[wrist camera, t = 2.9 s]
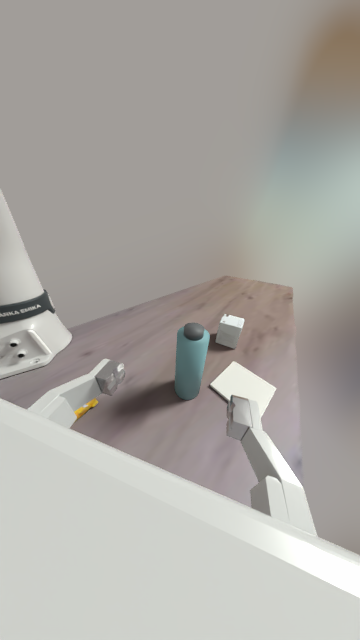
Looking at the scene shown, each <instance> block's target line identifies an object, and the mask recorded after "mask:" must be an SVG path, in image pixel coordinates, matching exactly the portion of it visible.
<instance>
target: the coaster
mask: <svg viewBox="0 0 360 640" xmlns="http://www.w3.org/2000/svg"><path fill="white" fill-rule="evenodd" d="M210 387H212V388H213V389H214V390H215V391H216V392H217V393H219V394H220V395H221V396H222V397H223V398H225V399H226V400H227V401H228V402H229V401H230V397H231V395H236V396H239V397H243V398H247V399H250V400H253V401H256V402H257V403H258V407H259V413H260V418H261V417H262V415H263V413H264V411H265V409H266V407H267V405H268V404H269V402H270V400H271V398H272V396H273V394H274V392H275V390H276V388H275V387H274V386H272V385H271V384H269V383H267V382H266V381H264V380H263V379H261V378H260V377H258V376H256V375H255V374H253V373H252V372H250V371H249V370H247V369H245V368H244V367H242V366H241V365H239V364H238V363H236V362H234V361H233V362H232V363H231V364H230V365H229V366H228V367H227V368H226V369H225V370H224V371H223V372H222V373H221V374H220V375H219V376H218V377H217V378H216V379H215V380H214V381H213V382H212V383H211V384H210Z"/></svg>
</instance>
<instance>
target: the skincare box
mask: <svg viewBox="0 0 360 640" xmlns="http://www.w3.org/2000/svg"><path fill="white" fill-rule="evenodd" d="M244 320H245V319H243V318H239V317H235V316H231V315H227V314H225V315H224V316H223V317H222V319H221V321H220V323H219V328H218V332H217V337H216V341H215V342H216V343H219V344H222V345H225V346H227V347H230V348H233V349H235V348H236V345H237V342H238V339H239V336H240V333H241V330H242V327H243V324H244Z"/></svg>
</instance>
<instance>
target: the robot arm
mask: <svg viewBox="0 0 360 640" xmlns="http://www.w3.org/2000/svg"><path fill="white" fill-rule="evenodd" d="M71 339H72V335H71V333H70V332H69V331H68V330H67V329H66V328H65V327H64V325H63V324H62V323H61V321H60V320H59V318H58V317H57V315H56V313H55V308H54V305H53V303H52V301H51V299H50V296H49V295H48V293H47V292H46V290H44V289H43V288H42V285H41V283H40V281H39V279H38V277H37V275H36V272H35V270H34V268H33V266H32V263H31V261H30V259H29V257H28V254H27V252H26V249H25V247H24V244H23V242H22V239H21V237H20V234H19V232H18V230H17V227H16V225H15V222H14V220H13V217H12V215H11V213H10V210H9V208H8V205H7V203H6V201H5V198H4V196H3V194H2V191H1V189H0V379H2V378H5V377H8V376H12V375H15V374H18V373H22V372H25V371H28V370H32V369H35V368H38V367H42V366H45V365H46V364H48V363H49V362H50V361H51V360H52V359H53V357H54V356H55V355H56V354H57V353H59V352H60V351H61V350H63V349H64V348H65V347H66V346H67V345H68V344H69V343H70V341H71ZM123 367H124V366H123V364H122V363H118V362H115V361H112V360H108V359H104V360H102V361H101V362H100V363H99V364H98V365H97V366H96V367H95V368H94V369H93V370H92V371H91V372H90V373H89V374H88V375H87V374H86V375H84V376H81V377H79V378H77V379H75V380H72V381H70V382H68V383H66V384H63V385H61V386H59V387H57V388H54V389H52V390H50V391H48V392H47V393H46V394H45V395H43V396H42V397H41V398H40V399H39V400H38V401H37V402H35V403H34V404H33V405H32V406H31V407H30V408H28V409H27V410H26V409H24V408H21V407H19V406H17V405H14V404H12V403H10V402H8V401H5V400H3V399H1V398H0V640H360V555H358V554H356V553H353V552H351V551H349V550H347V549H344V548H342V547H340V546H337V545H335V544H333V543H331V542H328V541H326V540H324V539H321V538H319V537H317V533H316V531H315V526H314V523H313V520H312V516H311V513H310V510H309V506H308V503H307V499H306V496H305V493H304V489H303V487H302V486H301V484H300V483H299V481H298V480H297V478H296V477H295V475H294V474H293V472H292V471H291V469H290V468H289V466H288V465H287V463H286V462H285V460H284V459H283V457H282V456H281V454H280V453H279V451H278V450H277V448H276V447H275V445H274V444H273V442H272V441H271V439H270V438H269V436H268V435H267V433H266V432H264V431H263V429H262V424H261V418H260V413H259V407H258V403H257V402H256V401H253V400H250V399H247V398H243V397H239V396H236V395H231V397H230V401H229V402H228V406H227V418H228V421H227V436H229V437H232V438H234V439H237V440H240V441H241V444H242V446H243V448H244V450H245V452H246V455H247V457H248V459H249V461H250V463H251V466H252V468H253V470H254V472H255V474H256V477H257V479H258V481H259V483H258V484H257V485H256V486H255V487H253V488H252V489H251V490H250V493H251V506H252V508H250V507H248V506H246V505H244V504H241V503H239V502H237V501H234V500H232V499H230V498H228V497H225V496H223V495H221V494H218V493H216V492H214V491H212V490H209V489H207V488H205V487H202V486H200V485H198V484H195V483H193V482H191V481H189V480H186V479H184V478H182V477H179V476H177V475H175V474H173V473H170V472H168V471H166V470H163V469H161V468H159V467H157V466H154V465H152V464H150V463H147V462H145V461H143V460H140V459H138V458H136V457H134V456H131V455H129V454H127V453H124V452H122V451H120V450H118V449H115V448H113V447H111V446H108V445H106V444H104V443H102V442H99V441H97V440H95V439H92V438H90V437H88V436H85V435H83V434H81V433H79V432H76V431H74V430H72V429H69V428H70V427H71V425H72V424H73V423H74V422H75V420H76V419H77V416H76V414H75V413H74V411H76V410H77V409H79V408H80V407H82V406H83V405H85V404H87V403H88V402H90V401H91V400H93V399H94V398H96V397H97V396H99V395H100V394H102V393H104V394H107V395H110V396H112V395H113V393H114V392H115V391H116V389H117V385H118V384H120V383H121V382H122V381H123V379H124V377H125V370H124V369H123Z"/></svg>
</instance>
